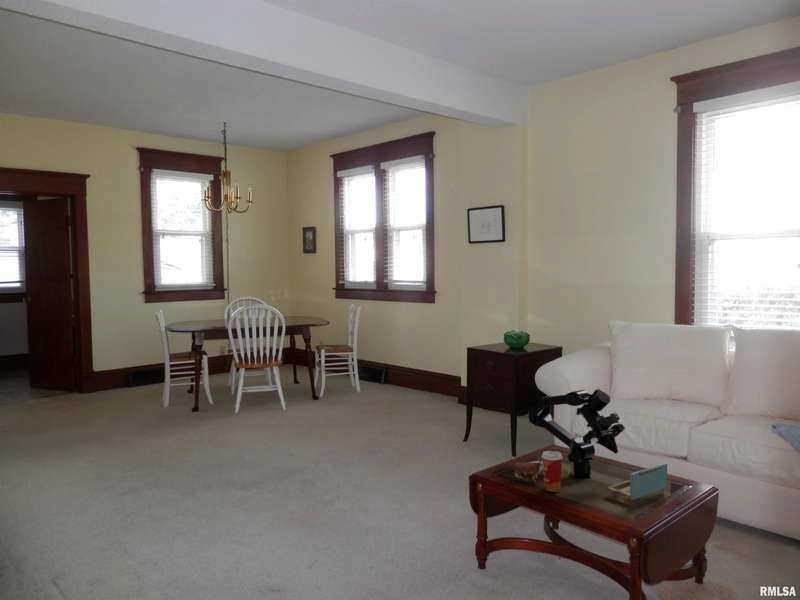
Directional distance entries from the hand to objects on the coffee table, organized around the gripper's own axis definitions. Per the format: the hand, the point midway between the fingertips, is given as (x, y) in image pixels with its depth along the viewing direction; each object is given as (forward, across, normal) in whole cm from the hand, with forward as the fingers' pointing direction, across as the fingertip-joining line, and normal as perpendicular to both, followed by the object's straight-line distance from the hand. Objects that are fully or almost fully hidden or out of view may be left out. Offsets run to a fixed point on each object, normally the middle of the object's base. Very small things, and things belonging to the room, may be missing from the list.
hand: (617, 452), depth 229 cm
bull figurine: (-8, -20, +28) cm, 35 cm away
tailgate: (+18, 0, -2) cm, 18 cm away
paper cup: (0, -21, +19) cm, 28 cm away
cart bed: (+15, 0, +4) cm, 16 cm away
